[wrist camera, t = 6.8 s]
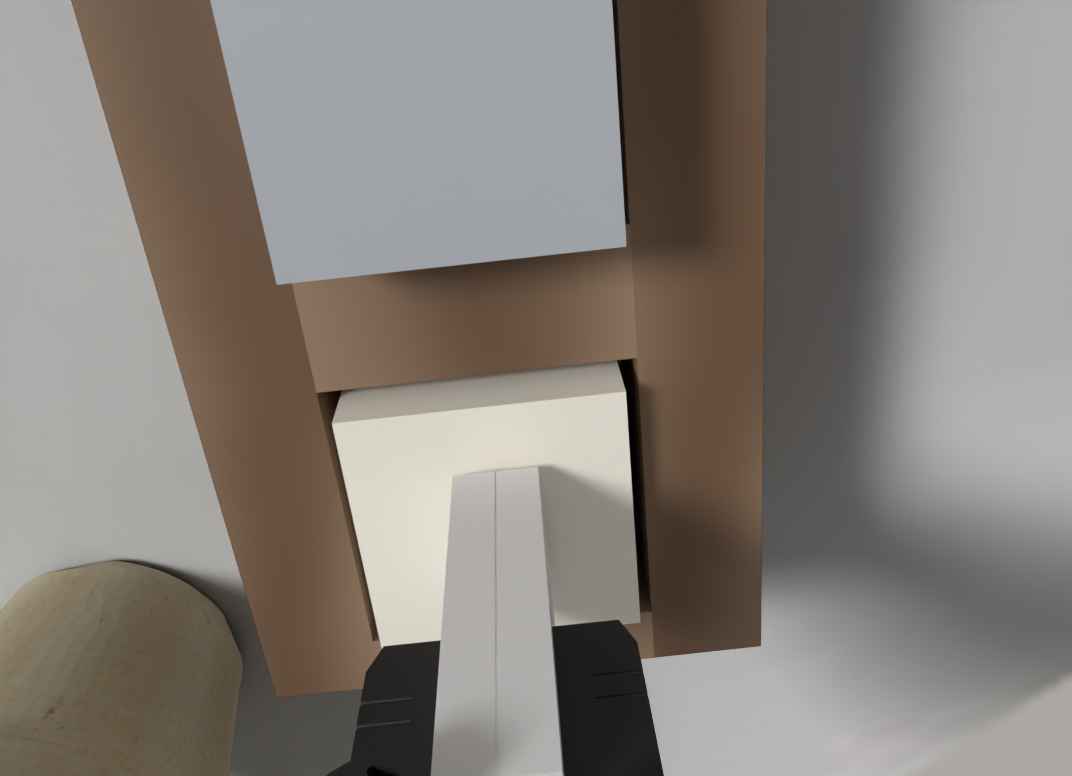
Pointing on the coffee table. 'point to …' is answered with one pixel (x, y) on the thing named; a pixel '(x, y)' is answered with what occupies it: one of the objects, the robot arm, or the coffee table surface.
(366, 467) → the cream key
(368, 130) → the slate grey key
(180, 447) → the coffee table surface
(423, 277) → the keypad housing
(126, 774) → the flower pot
